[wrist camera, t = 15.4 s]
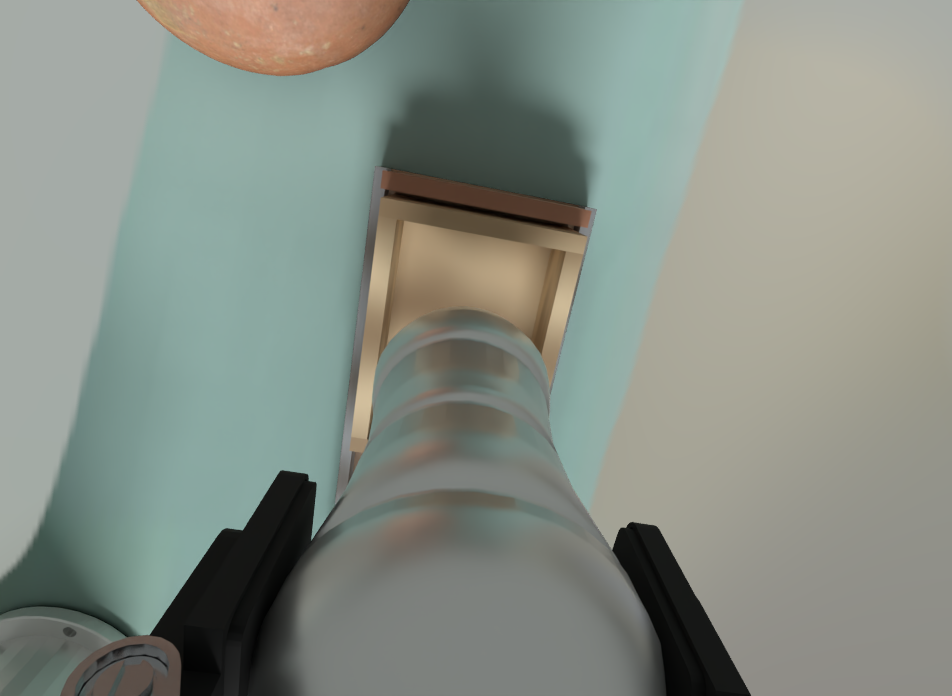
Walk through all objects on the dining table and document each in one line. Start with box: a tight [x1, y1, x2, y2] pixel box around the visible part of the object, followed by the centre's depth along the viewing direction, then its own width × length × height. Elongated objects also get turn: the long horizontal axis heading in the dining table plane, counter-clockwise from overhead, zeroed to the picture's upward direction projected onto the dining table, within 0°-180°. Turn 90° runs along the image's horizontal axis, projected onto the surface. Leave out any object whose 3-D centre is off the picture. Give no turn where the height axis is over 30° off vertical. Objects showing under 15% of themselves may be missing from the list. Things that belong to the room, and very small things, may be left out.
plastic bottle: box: [248, 306, 667, 696], centre depth 13 cm, size 6×7×20 cm
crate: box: [349, 194, 588, 453], centre depth 27 cm, size 13×9×4 cm
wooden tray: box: [335, 166, 597, 505], centre depth 29 cm, size 24×11×4 cm, turn 169°
